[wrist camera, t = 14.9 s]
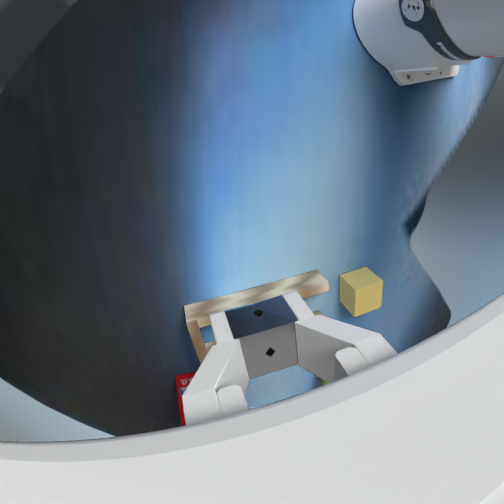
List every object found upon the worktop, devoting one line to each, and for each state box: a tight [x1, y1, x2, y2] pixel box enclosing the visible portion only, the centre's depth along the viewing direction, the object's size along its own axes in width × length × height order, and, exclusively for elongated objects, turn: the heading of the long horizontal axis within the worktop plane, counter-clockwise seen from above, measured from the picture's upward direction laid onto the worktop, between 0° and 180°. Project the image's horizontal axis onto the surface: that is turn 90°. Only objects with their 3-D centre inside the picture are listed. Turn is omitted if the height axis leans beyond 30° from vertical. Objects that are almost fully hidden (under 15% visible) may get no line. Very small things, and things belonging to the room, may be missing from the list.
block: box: [339, 267, 383, 317], centre depth 47 cm, size 5×5×5 cm
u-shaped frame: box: [184, 270, 329, 364], centre depth 45 cm, size 20×9×5 cm, turn 99°
